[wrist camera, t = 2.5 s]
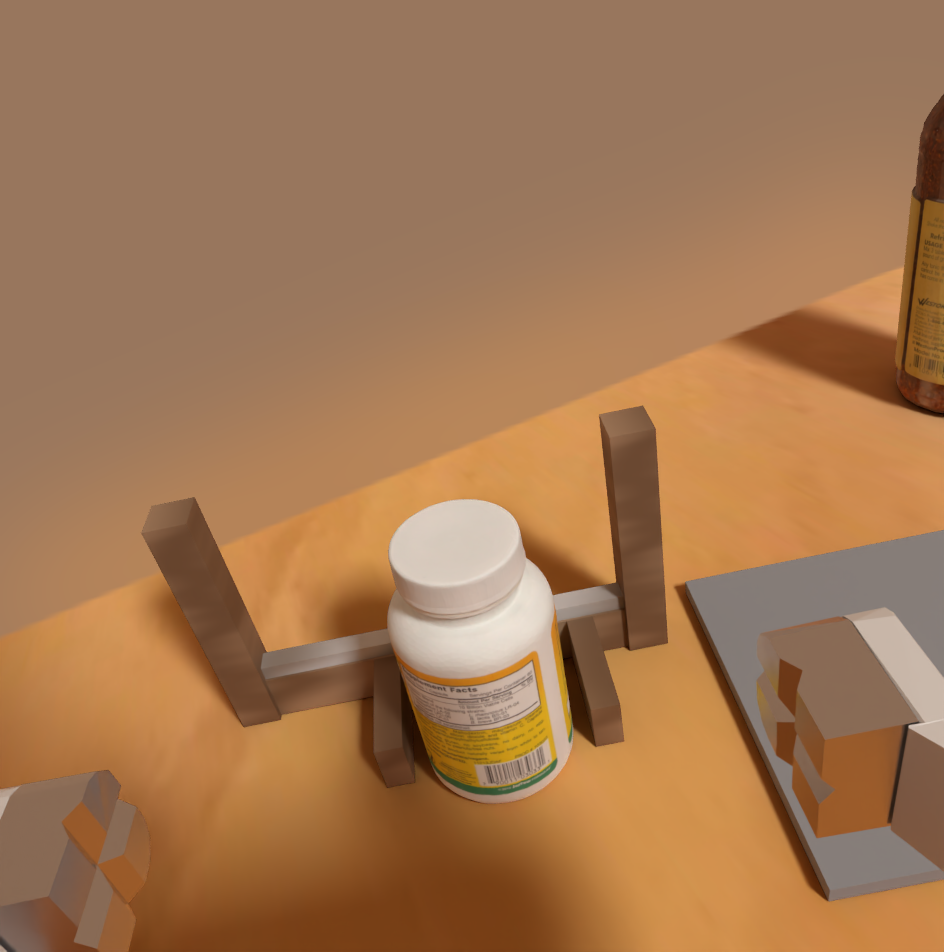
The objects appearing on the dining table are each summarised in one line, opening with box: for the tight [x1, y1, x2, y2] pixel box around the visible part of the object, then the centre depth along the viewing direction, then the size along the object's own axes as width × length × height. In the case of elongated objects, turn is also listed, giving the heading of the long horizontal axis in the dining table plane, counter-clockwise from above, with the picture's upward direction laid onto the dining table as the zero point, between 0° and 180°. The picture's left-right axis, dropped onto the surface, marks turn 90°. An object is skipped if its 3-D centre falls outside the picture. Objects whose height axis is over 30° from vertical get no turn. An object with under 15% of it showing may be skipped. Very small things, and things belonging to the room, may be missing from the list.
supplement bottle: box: [387, 499, 573, 804], centre depth 27 cm, size 5×5×10 cm
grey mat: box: [685, 530, 944, 901], centre depth 28 cm, size 13×13×1 cm
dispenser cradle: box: [141, 406, 668, 788], centre depth 28 cm, size 17×6×10 cm, turn 96°
